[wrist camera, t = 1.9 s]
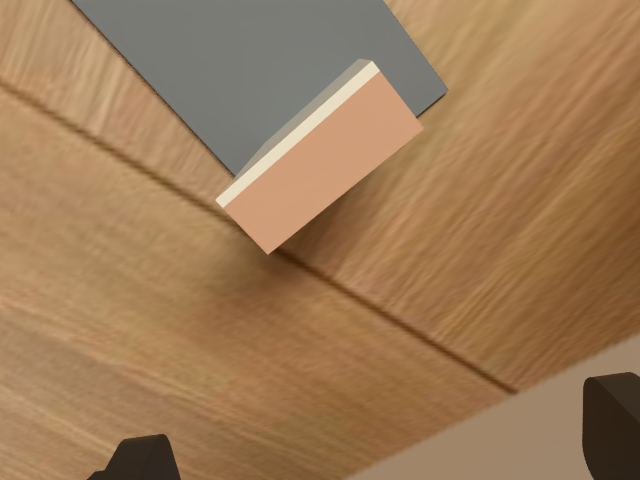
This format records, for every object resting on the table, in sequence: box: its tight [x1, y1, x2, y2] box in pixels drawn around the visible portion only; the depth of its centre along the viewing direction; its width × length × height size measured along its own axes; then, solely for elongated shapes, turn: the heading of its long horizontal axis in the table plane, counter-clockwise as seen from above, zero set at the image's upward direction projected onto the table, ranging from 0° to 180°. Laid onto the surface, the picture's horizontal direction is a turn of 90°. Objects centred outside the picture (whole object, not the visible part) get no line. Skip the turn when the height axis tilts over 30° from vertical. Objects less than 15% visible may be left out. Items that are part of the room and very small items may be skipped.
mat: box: [72, 0, 448, 177], centre depth 33 cm, size 16×23×1 cm
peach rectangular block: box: [215, 59, 424, 255], centre depth 27 cm, size 9×4×15 cm, turn 131°
